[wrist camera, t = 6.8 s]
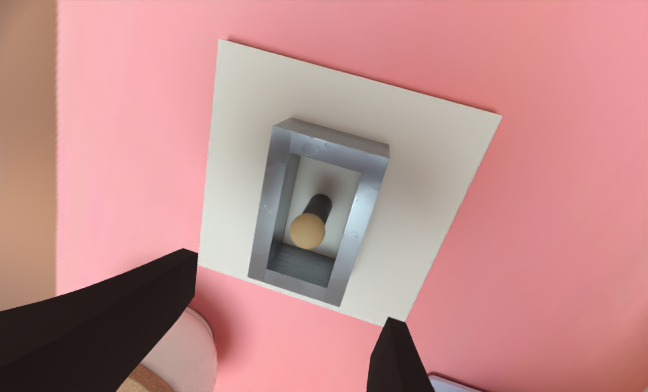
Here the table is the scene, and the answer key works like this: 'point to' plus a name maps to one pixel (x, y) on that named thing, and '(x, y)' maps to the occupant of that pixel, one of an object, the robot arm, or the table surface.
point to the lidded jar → (178, 360)
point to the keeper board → (338, 173)
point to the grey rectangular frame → (278, 185)
